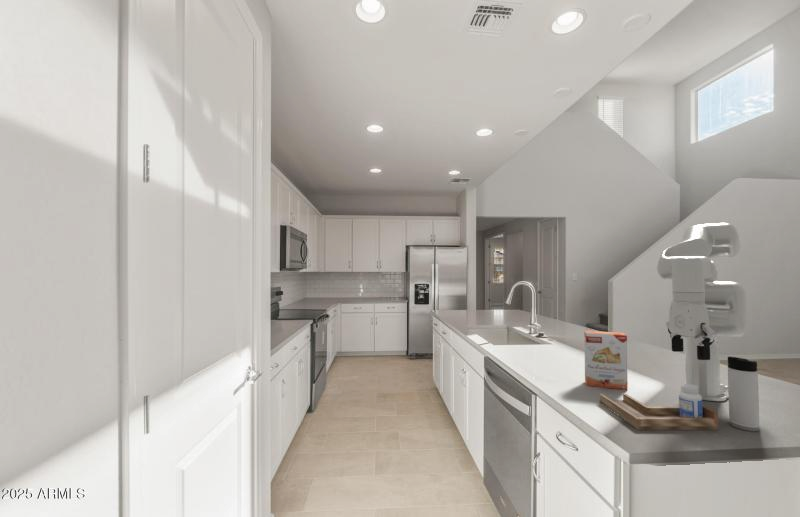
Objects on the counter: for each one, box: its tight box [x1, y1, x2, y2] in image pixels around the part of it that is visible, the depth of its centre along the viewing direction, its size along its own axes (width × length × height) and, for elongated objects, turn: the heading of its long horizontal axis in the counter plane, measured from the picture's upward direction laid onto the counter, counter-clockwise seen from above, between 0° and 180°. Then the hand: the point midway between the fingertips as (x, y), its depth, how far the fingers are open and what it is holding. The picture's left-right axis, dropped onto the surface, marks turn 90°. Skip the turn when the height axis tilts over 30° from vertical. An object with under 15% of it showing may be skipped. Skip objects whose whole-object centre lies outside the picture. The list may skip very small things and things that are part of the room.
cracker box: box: [583, 330, 629, 390], centre depth 138 cm, size 14×6×21 cm, turn 68°
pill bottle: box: [678, 383, 704, 418], centre depth 105 cm, size 6×5×10 cm
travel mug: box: [727, 356, 760, 432], centre depth 102 cm, size 6×7×20 cm
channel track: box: [599, 393, 719, 431], centre depth 110 cm, size 22×20×5 cm
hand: (690, 355), depth 105 cm, fingers open, 9 cm apart
